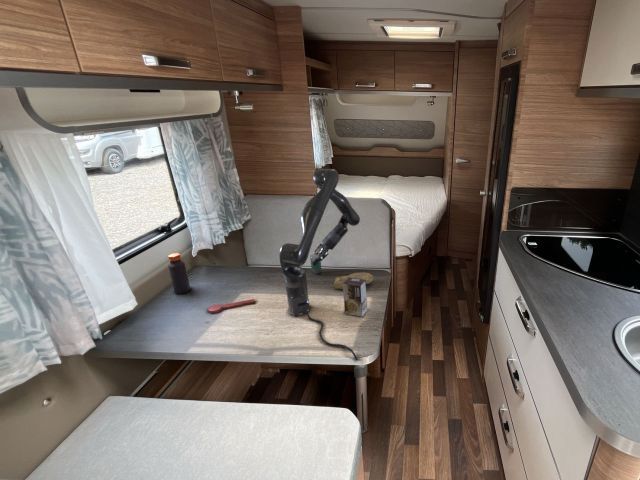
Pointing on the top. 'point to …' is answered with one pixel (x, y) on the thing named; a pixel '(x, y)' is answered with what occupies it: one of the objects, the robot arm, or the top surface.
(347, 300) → the coffee box
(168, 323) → the top surface
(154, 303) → the top surface
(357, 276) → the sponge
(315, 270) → the can
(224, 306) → the spoon
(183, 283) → the bottle
